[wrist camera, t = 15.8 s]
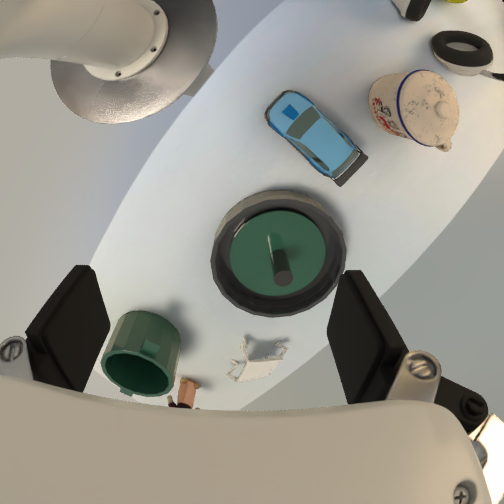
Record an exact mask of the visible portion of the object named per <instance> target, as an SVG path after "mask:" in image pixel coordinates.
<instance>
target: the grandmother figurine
mask: <svg viewBox="0 0 504 504" xmlns="http://www.w3.org/2000/svg"><path fill="white" fill-rule="evenodd" d="M199 387H200V384H198V383H193V382H191V381H190V380H189V379H188V378H182V379H181V380H180V388H179V391H178V402H177V405H176V404H175V403H174V402H173V400H172V396H168V397H167V399H168V403H169V404H168V406H169V407H174V408H186V409H192V407H193V403H194V398H195V393H196V389H198V388H199ZM196 409H200V408H196Z"/></svg>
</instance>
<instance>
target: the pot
mask: <svg viewBox="0 0 504 504" xmlns="http://www.w3.org/2000/svg"><path fill="white" fill-rule="evenodd" d="M180 350H181V338H180V335H179V333H178V331H177V329H176V328H175V327H174V326H173V325H172V324H171V323H170V322H169V321H167V320H166V319H164V318H163V317H161V316H159V315H156V314H154V313H151V312H146V311H133V312H129V313H126V314H125V315H123V316H122V317H121V318H120V319H119V320H118V323H117V325H116V327H115V329H114V331H113V334H112V336H111V338H110V340H109V342H108V345H107V347H106V349H105V352H104V354H103V357H102V360H101V367H102V370H103V372H104V374H105V375H106V376H107V377H108V378H109V380H110V381H111V382H113V383H114V384H116V385H117V386H118V387H120V388H121V389H120V392H122V393H124V394H126V395H129V396H132V395H133V394H136V395H141V396H146V397H155V396H162V395H164V394H167V393H169V392H170V390H171V389H172V388H173V386H174V381H175V375H176V370H177V365H178V360H179V355H180Z"/></svg>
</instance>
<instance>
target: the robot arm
mask: <svg viewBox="0 0 504 504" xmlns="http://www.w3.org/2000/svg"><path fill="white" fill-rule="evenodd" d="M157 13H159V14H158V15H157ZM168 27H169V26H168V20H167V17H166V15H165V12H164V11H163V10H162V9H161V7H160V6H159V5H158V4H157V3H155V2H153V1H152V0H0V59H1V58H11V57H27V58H28V57H29V58H41V59H50V60H58V61H65V62H72V63H79V64H83V65H84V66H85V68H86V69H87V71H89V72H90V73H91V74H92V75H93V76H95V77H97V78H100V79H103V80H110V81H114V80H123V79H127V78H130V77H132V76H135V75H137V74H138V73H140V72H142V71H143V70H145V69H146V68H147V67H148V66H150V65H151V64H152V63H153V61H154V60H155V59H156V58H157V57H158V55H159V54H160V53H161V51H162V49H163V47H164V45H165V43H166V40H167V36H168ZM154 49H157V50H156V51H155V52H154ZM120 73H121V76H119V74H120ZM109 330H110V320H109V317H108V314H107V311H106V308H105V305H104V302H103V299H102V295H101V292H100V288H99V285H98V281H97V278H96V274H95V271H94V270H93V269H91V267H90V266H89V265H76V266H74V268H73V269H72V270H71V271H70V272H69V274H68V275H67V276H66V277H65V279H64V280H63V281H62V282H61V284H60V285H59V286H58V287H57V289H56V290H55V291H54V293H53V294H52V295H51V296H50V298H49V299H48V300H47V302H46V303H45V304H44V306H43V307H42V308H41V310H40V311H39V313H38V314H37V315H36V317H35V318H34V320H33V321H32V323H31V324H30V325H29V327H28V328H27V330H26V331H25V333H26V335H27V339H26V341H25V339H24V338H22V337H20V336H13V337H9V338H8V339H6V340H4V341H3V342H2V343H1V344H0V504H499V502H500V500H501V499H502V497H503V495H504V422H502V421H501V420H500V419H499V418H498V417H497V416H495V415H494V414H493V413H492V414H491V415H488V407H487V403H486V401H485V400H484V398H483V397H481V395H479V394H477V393H476V392H473V391H472V390H469V389H467V388H465V387H463V386H461V385H459V384H456V383H454V382H453V381H451V380H448V379H446V378H444V377H442V376H441V366H440V364H439V362H438V361H437V359H436V358H435V357H434V356H433V355H431V354H429V353H427V352H424V351H421V350H414V351H411V352H409V350H408V349H407V347H406V345H405V343H404V341H403V339H402V337H401V336H400V334H399V332H398V330H397V329H396V327H395V325H394V323H393V321H392V320H391V318H390V316H389V315H388V313H387V311H386V310H385V308H384V306H383V305H382V303H381V302H380V300H379V298H378V297H377V295H376V293H375V292H374V290H373V288H372V287H371V285H370V283H369V282H368V280H367V279H366V277H365V275H364V274H363V272H362V271H361V270H346V271H345V273H344V274H341V275H340V278H339V282H338V286H337V291H336V295H335V299H334V303H333V307H332V311H331V315H330V319H329V323H328V326H327V337H328V340H329V343H330V346H331V349H332V353H333V356H334V359H335V363H336V366H337V369H338V372H339V376H340V379H341V382H342V386H343V389H344V393H345V395H346V399H347V403H348V404H349V405H341V406H332V407H321V408H309V409H295V410H277V411H221V410H200V409H186V408H174V407H165V406H156V405H148V404H141V403H134V402H127V401H122V400H116V399H110V398H105V397H100V396H95V395H90V394H86V393H83V391H84V388H85V386H86V383H87V381H88V379H89V376H90V374H91V371H92V369H93V367H94V364H95V362H96V359H97V357H98V355H99V353H100V350H101V348H102V346H103V344H104V341H105V339H106V337H107V335H108V333H109Z"/></svg>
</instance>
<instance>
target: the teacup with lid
mask: <svg viewBox="0 0 504 504" xmlns="http://www.w3.org/2000/svg"><path fill="white" fill-rule="evenodd" d="M369 108H370V112H371V115H372V117H373V119H374V120H375V122H376V123H377V124H378V126H379V127H380V128H382V129H383V130H384V131H386V132H388V133H390V134H393V135H397V136H401V137H404V138H408V139H411V140H414V141H416V142H417V143H419V144H421V145H424V146H429V147H433V146H435V147H436V148H438V149H439V150H442V151H444V152H447V151H449V150H450V148H451V146H452V144H451V141H450V138H451V137H452V136H453V134H454V133H455V131H456V128H457V125H458V121H459V106H458V102H457V98H456V96H455V93H454V91H453V90H452V88H451V86H450V85H449V84H448V83H447V82H446V81H445V80H444V79H443V78H442V77H441V76H439V75H438V74H436V73H434V72H431V71H428V70H416V71H413V72H411V73H403V74H394V75H387V76H384V77H381V78H380V79H378V80H377V81H376V82H375V83H374V84H373V86H372V88H371V90H370V94H369Z"/></svg>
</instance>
